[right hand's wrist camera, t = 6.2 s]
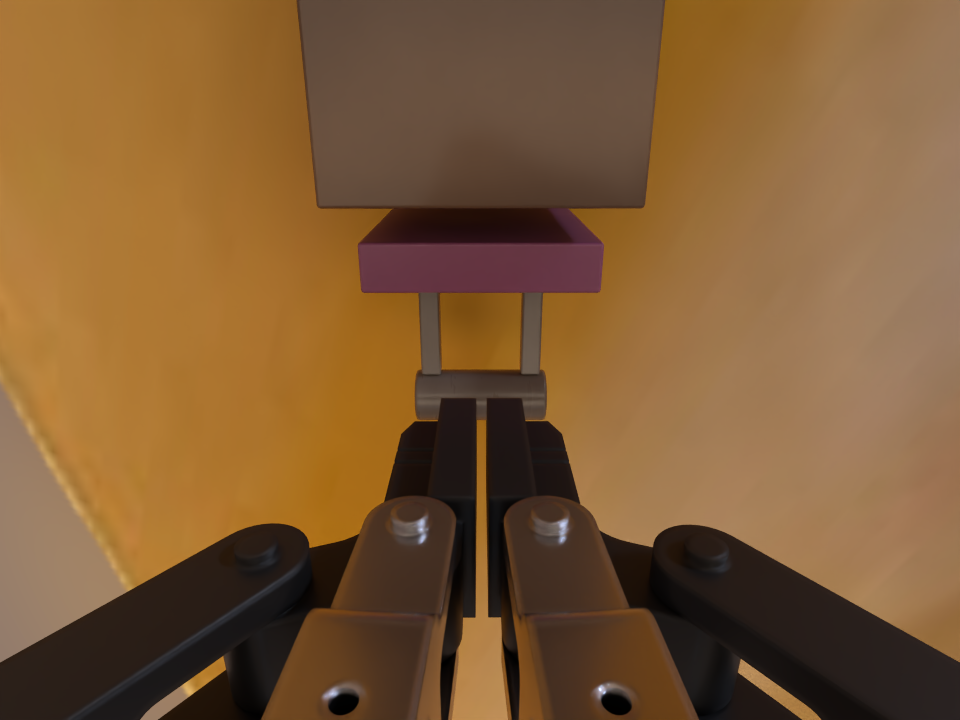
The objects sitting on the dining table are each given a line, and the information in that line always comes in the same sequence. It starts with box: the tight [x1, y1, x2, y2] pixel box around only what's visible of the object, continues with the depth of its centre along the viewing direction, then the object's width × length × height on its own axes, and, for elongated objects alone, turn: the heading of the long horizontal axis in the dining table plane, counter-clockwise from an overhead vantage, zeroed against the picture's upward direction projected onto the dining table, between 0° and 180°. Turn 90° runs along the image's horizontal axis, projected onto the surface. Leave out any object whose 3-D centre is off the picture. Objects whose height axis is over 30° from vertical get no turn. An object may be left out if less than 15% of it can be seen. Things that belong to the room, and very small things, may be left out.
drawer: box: [358, 208, 604, 420], centre depth 15 cm, size 23×6×8 cm, turn 0°
